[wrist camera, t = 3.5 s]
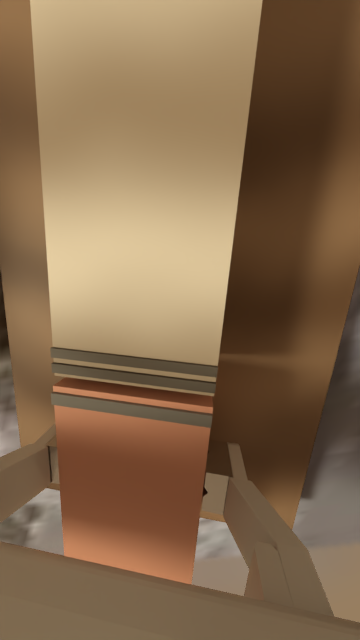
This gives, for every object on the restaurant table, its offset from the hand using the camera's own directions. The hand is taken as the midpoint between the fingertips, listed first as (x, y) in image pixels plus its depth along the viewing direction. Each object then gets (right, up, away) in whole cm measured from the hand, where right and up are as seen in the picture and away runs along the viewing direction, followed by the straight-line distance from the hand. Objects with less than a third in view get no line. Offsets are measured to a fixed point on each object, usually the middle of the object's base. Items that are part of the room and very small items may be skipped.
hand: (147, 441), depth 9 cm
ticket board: (+1, +8, +2) cm, 8 cm away
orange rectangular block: (0, 0, +1) cm, 1 cm away
